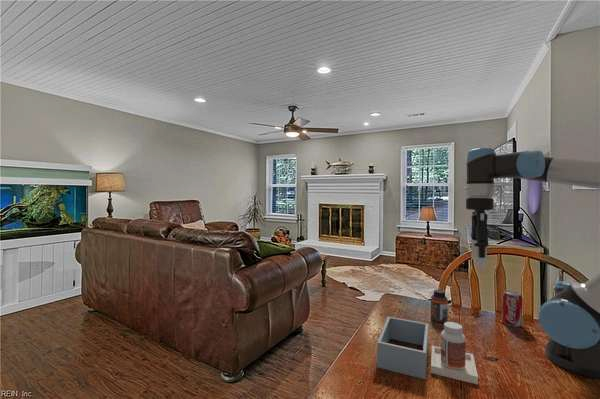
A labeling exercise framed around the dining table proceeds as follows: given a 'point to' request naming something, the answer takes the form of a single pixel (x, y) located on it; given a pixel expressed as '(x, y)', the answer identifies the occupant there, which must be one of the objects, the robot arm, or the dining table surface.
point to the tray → (464, 374)
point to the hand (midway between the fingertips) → (478, 263)
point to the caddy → (402, 356)
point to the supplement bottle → (439, 306)
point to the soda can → (512, 308)
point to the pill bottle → (453, 346)
